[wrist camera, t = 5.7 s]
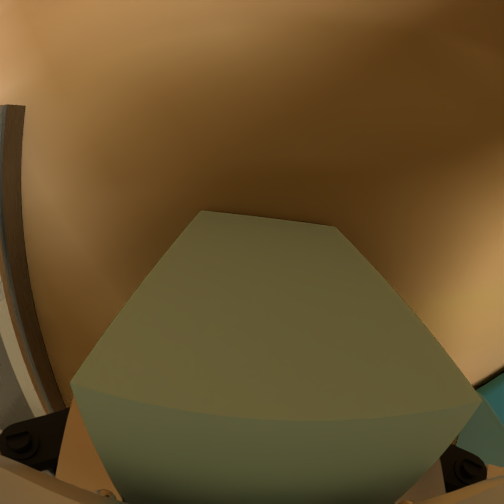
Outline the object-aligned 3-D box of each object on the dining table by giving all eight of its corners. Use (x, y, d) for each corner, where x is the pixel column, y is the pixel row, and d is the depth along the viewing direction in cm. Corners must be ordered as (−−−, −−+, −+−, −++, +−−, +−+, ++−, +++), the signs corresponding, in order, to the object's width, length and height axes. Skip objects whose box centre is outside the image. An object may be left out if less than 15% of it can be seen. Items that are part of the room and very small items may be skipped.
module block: (200, 210, 10) (69, 382, 2) (335, 226, 10) (482, 400, 2) (193, 390, 12) (159, 554, 5) (293, 399, 13) (312, 563, 5)
